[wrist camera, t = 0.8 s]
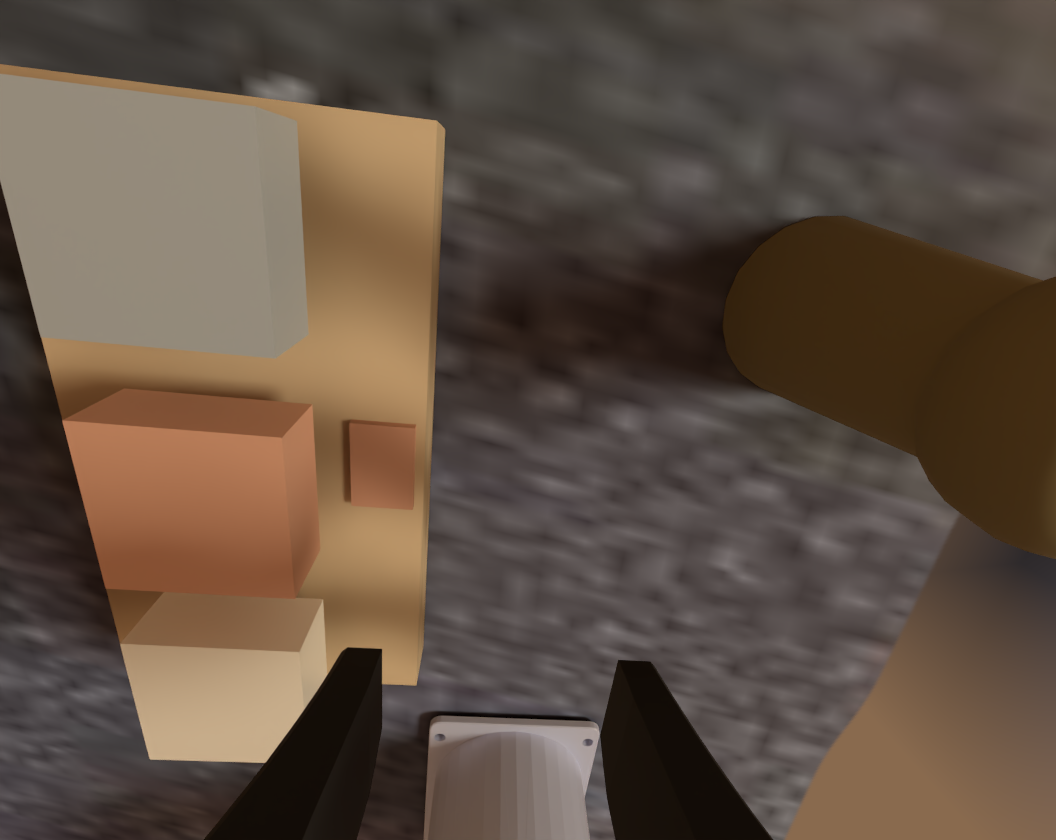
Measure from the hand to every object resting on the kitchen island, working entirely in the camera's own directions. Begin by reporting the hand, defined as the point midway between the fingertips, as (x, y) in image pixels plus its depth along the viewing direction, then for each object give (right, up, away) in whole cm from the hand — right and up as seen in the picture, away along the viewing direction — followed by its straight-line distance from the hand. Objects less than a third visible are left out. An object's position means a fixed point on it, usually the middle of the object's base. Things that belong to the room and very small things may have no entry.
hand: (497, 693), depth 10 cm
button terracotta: (-8, +3, +6) cm, 11 cm away
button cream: (-9, -3, +9) cm, 13 cm away
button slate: (-7, +10, +3) cm, 13 cm away
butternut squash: (+10, +9, +8) cm, 16 cm away
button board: (-8, +5, +9) cm, 13 cm away
